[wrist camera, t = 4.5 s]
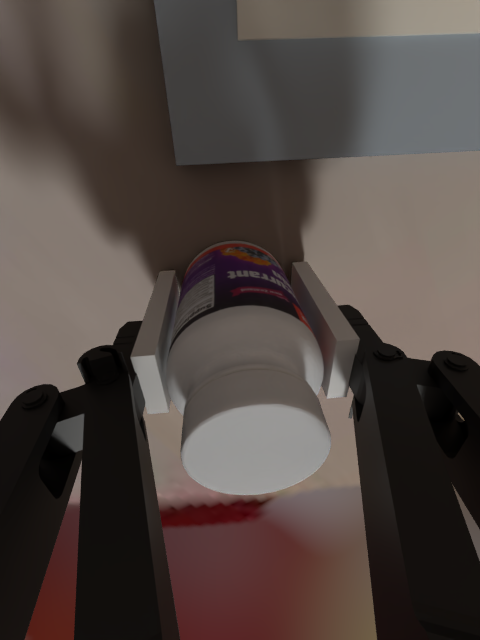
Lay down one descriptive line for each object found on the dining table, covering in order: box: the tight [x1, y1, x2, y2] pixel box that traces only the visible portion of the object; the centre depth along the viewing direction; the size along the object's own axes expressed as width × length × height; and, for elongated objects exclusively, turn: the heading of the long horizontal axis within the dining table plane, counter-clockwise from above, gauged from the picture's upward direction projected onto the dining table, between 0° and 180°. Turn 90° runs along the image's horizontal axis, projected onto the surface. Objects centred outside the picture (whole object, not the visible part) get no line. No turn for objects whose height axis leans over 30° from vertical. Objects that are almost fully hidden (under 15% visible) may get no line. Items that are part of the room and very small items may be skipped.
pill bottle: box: [166, 241, 331, 495], centre depth 12 cm, size 5×5×10 cm
